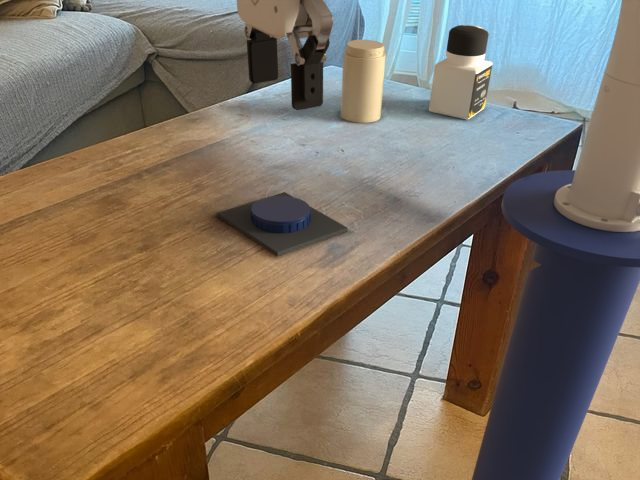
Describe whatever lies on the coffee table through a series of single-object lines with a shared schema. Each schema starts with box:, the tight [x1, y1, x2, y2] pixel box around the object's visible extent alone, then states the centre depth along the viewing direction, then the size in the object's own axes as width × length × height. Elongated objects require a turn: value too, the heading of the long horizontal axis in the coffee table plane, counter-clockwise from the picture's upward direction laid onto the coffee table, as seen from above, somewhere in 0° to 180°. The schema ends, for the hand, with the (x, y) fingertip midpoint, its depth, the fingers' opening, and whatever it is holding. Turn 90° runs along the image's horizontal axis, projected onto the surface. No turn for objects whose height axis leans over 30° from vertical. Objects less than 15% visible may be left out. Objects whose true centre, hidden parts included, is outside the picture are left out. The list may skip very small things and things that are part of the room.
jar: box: [340, 39, 387, 124], centre depth 102 cm, size 6×6×10 cm
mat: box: [216, 191, 348, 257], centre depth 77 cm, size 12×10×1 cm
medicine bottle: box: [428, 24, 493, 121], centre depth 105 cm, size 7×7×12 cm
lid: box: [251, 195, 311, 233], centre depth 76 cm, size 7×7×1 cm
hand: (284, 93), depth 68 cm, fingers open, 9 cm apart
